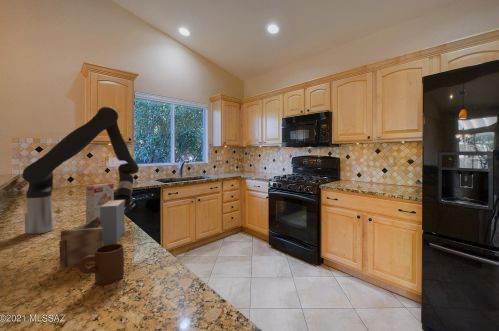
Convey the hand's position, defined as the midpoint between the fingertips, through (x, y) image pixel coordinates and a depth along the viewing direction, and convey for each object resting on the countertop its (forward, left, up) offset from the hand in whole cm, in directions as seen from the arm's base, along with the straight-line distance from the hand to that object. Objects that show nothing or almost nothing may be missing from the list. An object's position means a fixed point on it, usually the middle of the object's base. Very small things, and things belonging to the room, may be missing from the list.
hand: (118, 219), depth 114 cm
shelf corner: (-3, -21, -6) cm, 22 cm away
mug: (+7, -50, -6) cm, 50 cm away
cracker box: (-15, +24, -6) cm, 29 cm away
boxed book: (0, -10, -6) cm, 11 cm away
